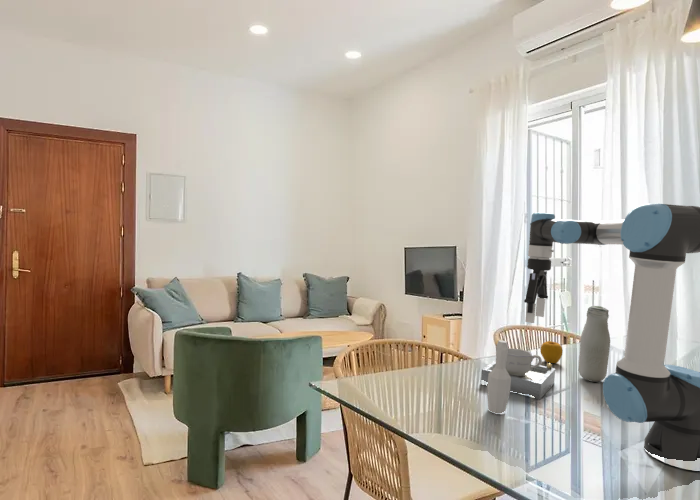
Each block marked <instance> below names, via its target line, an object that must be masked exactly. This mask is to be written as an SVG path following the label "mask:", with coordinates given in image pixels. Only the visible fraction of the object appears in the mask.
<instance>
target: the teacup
mask: <svg viewBox="0 0 700 500" xmlns="http://www.w3.org/2000/svg"><path fill="white" fill-rule="evenodd" d="M535 358H536V359H537V360H538V362H537V363H535V364H536V365H533V366H531V363H532V362H533V361H534V359H535ZM542 362H543V361H542V357H541V356H540V355H539V354H533V353H532V352H530V351H527V350H524V349H519V348H509V347H508V354H507V359H506V370H507V372H508V374H510V375H515V376H523V375H525V374H526V373H528V372H529V371H531V370H532V369H533V368H536V367H538V366H539V365H541V364H542Z"/></svg>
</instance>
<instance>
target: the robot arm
mask: <svg viewBox="0 0 700 500" xmlns="http://www.w3.org/2000/svg"><path fill="white" fill-rule="evenodd" d="M553 243H557V244H559V243H560V244H562V245H563V244H565V245H569V244H579V245H580V244H582V245H585V244H586V245H599V246H605V245H623V247H625V248H626V249H627V250H629V255H628V258H629V259H630V260H631V261H632V262H633V263H634V273H633V281H632V289H631V299H630V307H629V312H628V313H629V315H628V323H627V331H626V339H625V348H624V357H623V358H621V359H619V360H617V362H616V363H615V364H616V366H615V372H614V373H610V374H608V375H606V377H605V378H604V379H603V384H602V393H603V398H604V400H605V403H606V405H607V407H608V409H609V410H610V412H611V413H612V414H613V415H614V416H615V417H616V418H618V420H621V421H623V422H627V423H638V424H642V423H643V424H644V423H649V422H651V423H652V422H654V423H652V425H651V427H650V429H649V431H648V433H647V435H646V436H645V438H644V443H643V449H644V448H645V449H646V450H647V451H648V452H650V453H651V454H655V455H658V456H660V457H664V458H667V459H676V460H683V461H695V460H697V458H700V371H697V370H694V369H691V368H687V367H684V366H680V365H675V364H666V363H665V361H666V353H667V352H666V350H667V344H668V337H669V336H668V335H669V330H670V322H671V313H672V305H673V298H674V297H673V296H674V290H675V283H676V275H677V274H676V273H677V269H678V268H679V267H681V266H682V265H684V264H685V263H686V257H687V254H697V253H700V206H695V205H679V204H667V203H645V204H641V205H638V206H636V207H634V208H633V209H632V210H631V211H630V212H628V214H626V216H625V218H624V219H616V220H615V219H613V220H610V219H609V220H579V219H578V220H577V219H566V218H565V219H558V218H556V215H555V213H551V212H550V213H549V212H534V213H532V215H531V219H530V223H529V244H528V253H527V255H528V258H527V269H529V270H532V272H530V273H529V279H528V285H527V289H526V293H525V294H526V295H525V299H524V300H523V302H524V303H526V306H525V309H526V311H525V323H529V324H535V317H539V318H540V317H541V318H544V317H545V304H546V299H548V298H549V296H548V289H547V287H548V286H547V285H548V284H547V277H548V276H547V274H548V271H551V269H552V259H551V258H552V256H553V253H554V252H555V250H554V249H553V246H554V245H553ZM645 449H644V450H645Z"/></svg>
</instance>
